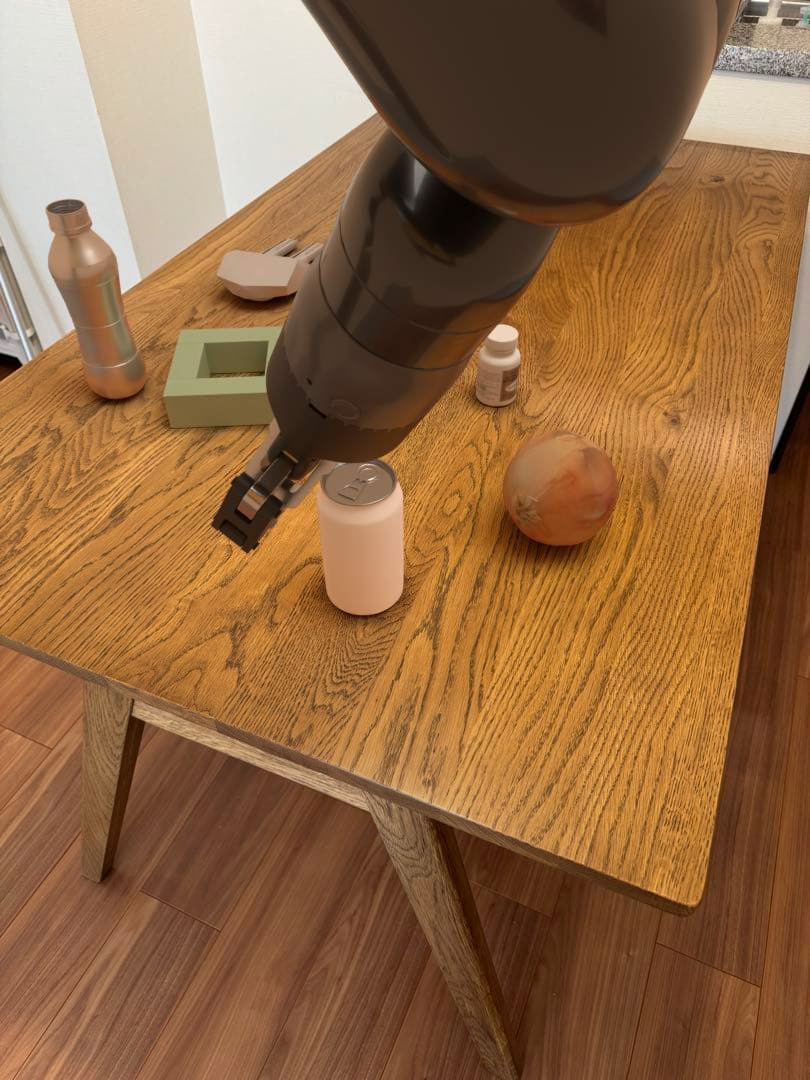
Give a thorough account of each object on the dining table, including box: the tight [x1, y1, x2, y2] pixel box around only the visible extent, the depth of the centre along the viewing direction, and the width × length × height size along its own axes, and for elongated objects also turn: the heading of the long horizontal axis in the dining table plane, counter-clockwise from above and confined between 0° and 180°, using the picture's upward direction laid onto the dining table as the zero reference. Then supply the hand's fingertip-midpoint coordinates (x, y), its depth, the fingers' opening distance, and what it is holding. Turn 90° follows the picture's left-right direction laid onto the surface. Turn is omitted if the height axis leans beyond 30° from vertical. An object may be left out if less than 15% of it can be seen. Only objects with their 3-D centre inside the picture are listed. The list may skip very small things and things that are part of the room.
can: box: [316, 458, 405, 616], centre depth 61 cm, size 6×6×12 cm
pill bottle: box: [475, 323, 522, 407], centre depth 82 cm, size 4×4×8 cm
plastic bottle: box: [44, 198, 148, 400], centre depth 79 cm, size 6×7×20 cm
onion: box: [502, 428, 619, 547], centre depth 67 cm, size 10×10×10 cm
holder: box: [162, 325, 283, 429], centre depth 85 cm, size 13×23×4 cm, turn 94°
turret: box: [215, 238, 325, 302], centre depth 103 cm, size 10×20×5 cm, turn 163°
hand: (288, 478), depth 48 cm, fingers open, 8 cm apart
